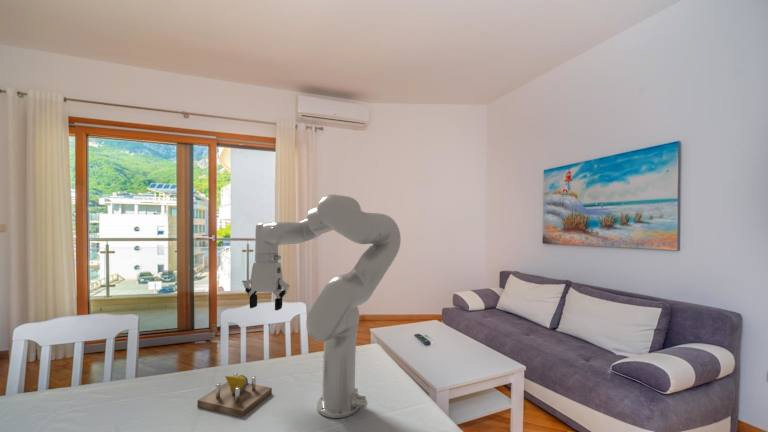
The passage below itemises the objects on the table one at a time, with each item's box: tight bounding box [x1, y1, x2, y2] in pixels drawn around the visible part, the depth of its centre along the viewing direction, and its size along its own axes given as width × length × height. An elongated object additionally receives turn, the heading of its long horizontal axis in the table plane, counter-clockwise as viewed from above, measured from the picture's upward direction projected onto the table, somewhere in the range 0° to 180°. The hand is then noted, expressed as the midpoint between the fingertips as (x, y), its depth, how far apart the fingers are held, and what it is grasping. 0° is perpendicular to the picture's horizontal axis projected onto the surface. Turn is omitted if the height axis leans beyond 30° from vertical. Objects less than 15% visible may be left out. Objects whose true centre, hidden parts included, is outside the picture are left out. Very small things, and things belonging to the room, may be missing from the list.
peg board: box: [196, 372, 273, 418], centre depth 98 cm, size 16×13×6 cm
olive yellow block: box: [225, 374, 249, 394], centre depth 98 cm, size 5×5×10 cm
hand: (265, 308), depth 110 cm, fingers open, 9 cm apart
